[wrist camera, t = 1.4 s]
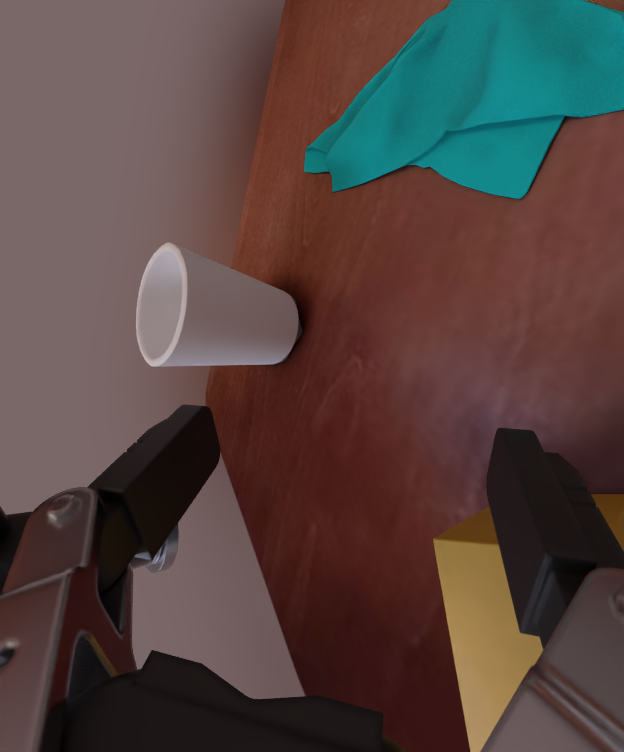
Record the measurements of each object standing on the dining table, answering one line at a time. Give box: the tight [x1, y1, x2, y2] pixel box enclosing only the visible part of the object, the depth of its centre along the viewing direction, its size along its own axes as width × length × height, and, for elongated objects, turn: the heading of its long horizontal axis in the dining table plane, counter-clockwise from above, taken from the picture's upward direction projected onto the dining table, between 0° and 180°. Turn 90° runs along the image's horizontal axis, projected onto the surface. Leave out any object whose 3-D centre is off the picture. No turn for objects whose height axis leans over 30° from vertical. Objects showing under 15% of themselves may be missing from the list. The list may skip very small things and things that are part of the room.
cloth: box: [304, 0, 624, 199], centre depth 25 cm, size 26×14×2 cm, turn 63°
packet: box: [433, 494, 624, 752], centre depth 15 cm, size 6×12×10 cm, turn 10°
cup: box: [136, 242, 302, 366], centre depth 33 cm, size 10×10×13 cm
